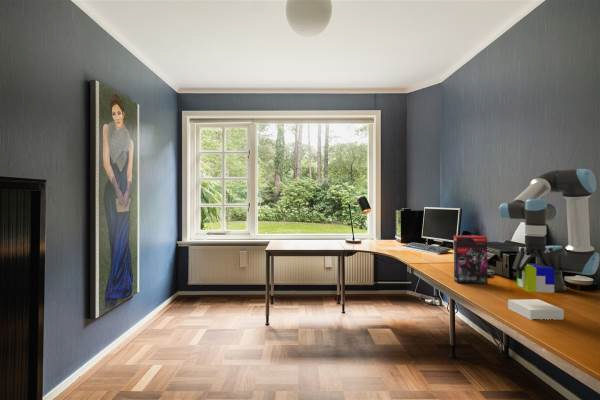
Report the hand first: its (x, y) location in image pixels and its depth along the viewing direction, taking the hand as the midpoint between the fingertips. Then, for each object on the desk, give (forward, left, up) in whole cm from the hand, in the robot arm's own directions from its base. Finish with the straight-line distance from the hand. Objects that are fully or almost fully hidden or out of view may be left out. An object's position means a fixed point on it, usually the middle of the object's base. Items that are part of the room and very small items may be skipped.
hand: (534, 286), depth 145 cm
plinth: (0, 0, -12) cm, 12 cm away
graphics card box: (-1, -53, -12) cm, 54 cm away
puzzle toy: (0, 0, -1) cm, 1 cm away
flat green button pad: (-18, -75, -12) cm, 78 cm away
